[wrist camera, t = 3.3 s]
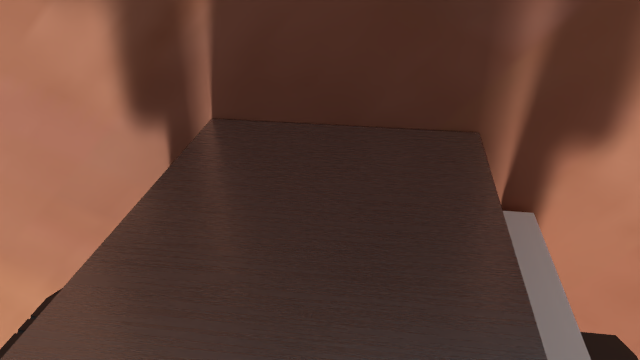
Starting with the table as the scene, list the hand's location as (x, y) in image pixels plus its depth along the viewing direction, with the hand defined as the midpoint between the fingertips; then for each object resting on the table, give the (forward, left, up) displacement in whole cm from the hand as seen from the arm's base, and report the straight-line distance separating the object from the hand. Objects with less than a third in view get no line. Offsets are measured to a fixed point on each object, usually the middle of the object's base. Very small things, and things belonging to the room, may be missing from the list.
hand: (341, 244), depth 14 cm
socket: (0, 0, 0) cm, 0 cm away
